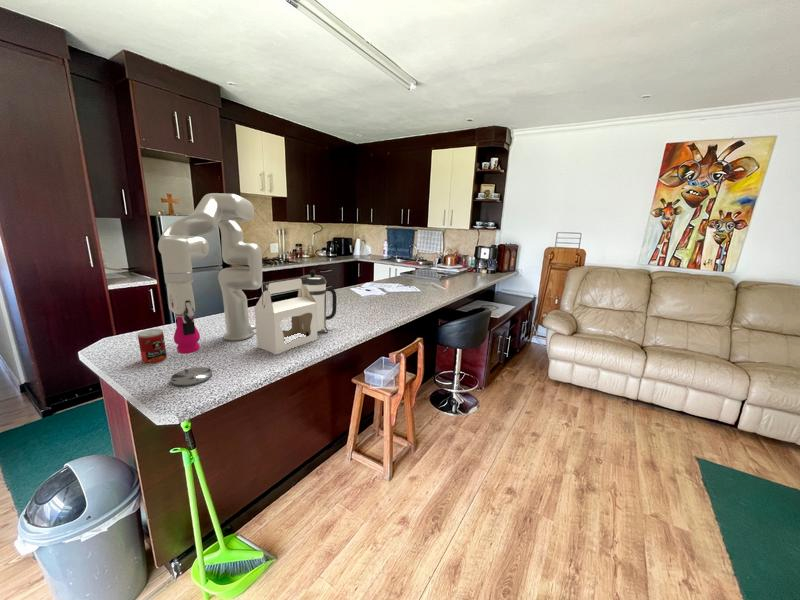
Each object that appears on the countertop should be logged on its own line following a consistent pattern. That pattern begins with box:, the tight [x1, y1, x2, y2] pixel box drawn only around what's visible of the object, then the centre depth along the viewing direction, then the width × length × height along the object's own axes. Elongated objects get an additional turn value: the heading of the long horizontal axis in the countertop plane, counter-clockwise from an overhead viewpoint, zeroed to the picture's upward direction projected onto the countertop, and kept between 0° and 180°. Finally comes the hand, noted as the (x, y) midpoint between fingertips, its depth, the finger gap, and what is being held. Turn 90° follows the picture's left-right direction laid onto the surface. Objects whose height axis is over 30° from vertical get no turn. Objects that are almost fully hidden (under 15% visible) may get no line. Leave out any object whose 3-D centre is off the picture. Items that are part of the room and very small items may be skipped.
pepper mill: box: [172, 302, 201, 355], centre depth 108 cm, size 7×7×20 cm
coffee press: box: [299, 269, 337, 336], centre depth 159 cm, size 17×16×30 cm
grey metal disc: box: [170, 366, 213, 388], centre depth 113 cm, size 12×12×2 cm
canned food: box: [137, 328, 168, 365], centre depth 125 cm, size 8×8×11 cm
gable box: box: [254, 278, 318, 355], centre depth 143 cm, size 22×13×28 cm, turn 145°
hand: (186, 331), depth 109 cm, fingers closed on pepper mill, 5 cm apart
